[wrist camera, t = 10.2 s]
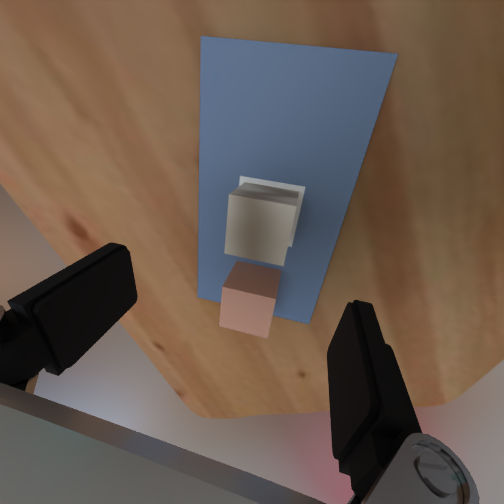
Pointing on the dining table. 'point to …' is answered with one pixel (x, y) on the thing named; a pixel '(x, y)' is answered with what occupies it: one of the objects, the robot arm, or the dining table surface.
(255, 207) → the cream block
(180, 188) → the dining table surface
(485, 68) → the dining table surface
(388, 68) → the board
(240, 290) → the terracotta block
